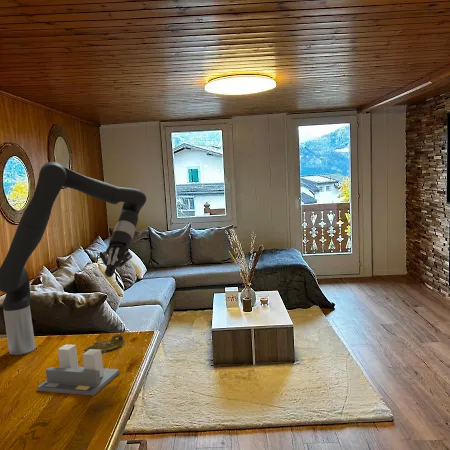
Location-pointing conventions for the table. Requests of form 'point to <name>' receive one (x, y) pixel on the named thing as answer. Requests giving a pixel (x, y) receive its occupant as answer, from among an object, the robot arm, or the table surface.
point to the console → (76, 380)
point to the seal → (108, 344)
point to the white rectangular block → (68, 357)
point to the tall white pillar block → (93, 360)
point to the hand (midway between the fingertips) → (108, 276)
